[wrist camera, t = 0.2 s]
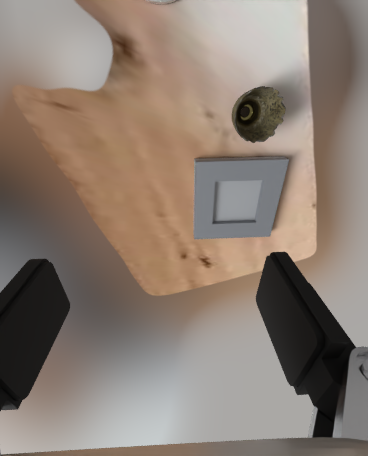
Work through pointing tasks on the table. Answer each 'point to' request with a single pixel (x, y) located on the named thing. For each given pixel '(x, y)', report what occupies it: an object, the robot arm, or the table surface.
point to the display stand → (237, 196)
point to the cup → (258, 114)
